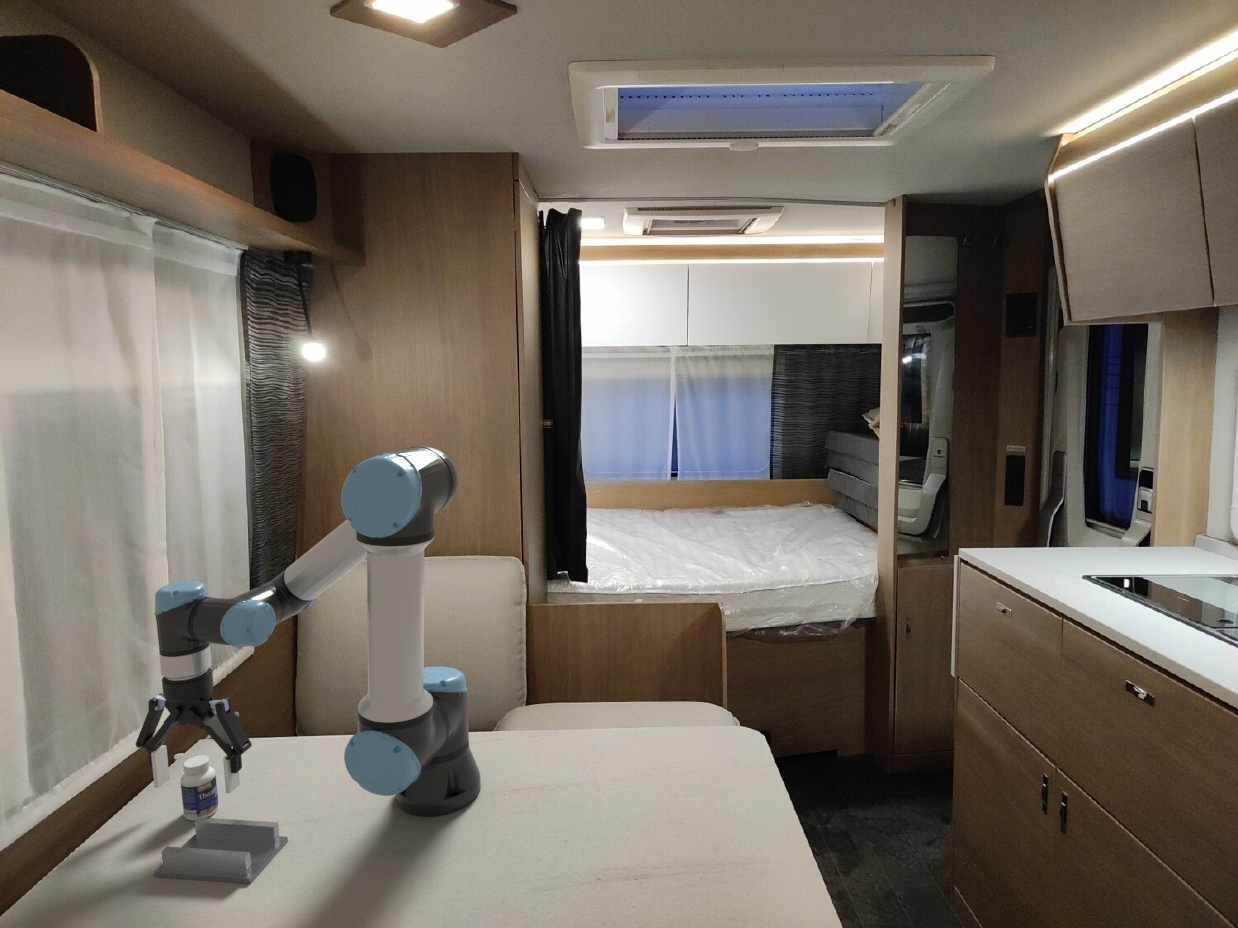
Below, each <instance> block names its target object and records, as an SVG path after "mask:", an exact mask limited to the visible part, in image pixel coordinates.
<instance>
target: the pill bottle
mask: <svg viewBox="0 0 1238 928" xmlns="http://www.w3.org/2000/svg"><path fill="white" fill-rule="evenodd" d="M183 772H184V773H183V775H182V776H181V778H180V790H181V800H182V809H183V817H184V818H185V820H187V821H196V820H197V819H198V818H199V817H202V818H210V816H212V815H214V814H215V813H216V812H217V811H218V810H219V807H220V804H219V795H218V785H217V774H216V770H215V768H214V767H212V766H211V760H210V757H209V756H208V755H196V756H192V757H190V758H188V759H187V760H185V761H184V762H183Z"/></svg>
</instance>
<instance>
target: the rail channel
mask: <svg viewBox="0 0 1238 928" xmlns="http://www.w3.org/2000/svg"><path fill="white" fill-rule="evenodd" d="M194 829H195V834H193V835H192V837H191V838H189V839H188V840H186V842H185V843H184V844H183V845H181V846H179V847H178V846H166V847H164V849H162V851H161V859H162V860H161V861H162V862H161V863H162V864H161V865H160V866H159V867H158V868H156V869H155V870H154V871H153V872H154V873H153V875H154V877H156V878H157V877H158V878H170V879H183V880H196V881H208V882H209V881H210V882H211V881H212V882H222V883H234V884H238V883H239V884H249V885H251V884H252V883H253V882H254V881H255V879H256V878H257V877H258V876H260V873H262V871H263V870H264V869H266V867H267V866H268V865H269V863H270V862H271V861H272V860H273V859H274V858H275V857H276V855H277V854H278V853H279V852H280V851H281V850H282V849H283V847H284V846H286V844H287V843H288V842H289V837H288V836H282V835H280V832H279V822H278V821H263V820H261V821H260V820H249V819H248V820H246V819H231V818H229V819H228V818H214V817H207V818H202V817H199V818H198V819H197V820H194Z"/></svg>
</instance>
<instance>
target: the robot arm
mask: <svg viewBox="0 0 1238 928" xmlns="http://www.w3.org/2000/svg"><path fill="white" fill-rule="evenodd" d="M458 487H459V476H458V471H457V468H456V466H455V464H454V463H453V461H452V459H451V458H450V457H449V456H448V455H447V454H445V452H444V451H441V450H439V449H438V448H434V447H432V446H427V445H417V446H416V445H415V446H412V447H407V448H406V449H400V450H396V451H391V452H390V451H389V452H382V453H378V454H375V455H374V456H371V457H369V458H368V459H365V460H363V461H360V463H358V464H357V465H355V466H354V467H353V469H352V470H350V472H349V473H348V475H347V477H346V478H345V479H344V482H343V485H342V488H341V494H340V504H341V509H342V512H343V516H344V517H345V519H346V520H344V521H343V522H342V523H340V524H339V525H338V526H337V527H336V528H335V529H333V530H332V531H331V532H330V533H328V534H327V535H326V536H325V537H323V538H322V539H321V540H320V541H318V542H317V543H315V545H314V546H312V547H311V548H310V549H309V550H308V551H306V552H304V554H302V555H300V557H299V558H298V559H296V560H295V561H294V562H293V563H291V564H290V565H289V566H287V567H286V569H284V570H283V571H281V573H279V574H278V575H276V577H274V578H273V579H272V580H270V581H268V582H266V583H264V584H262V585H259V586H257V587H254V588H252V589H250V590H248V591H246V592H243V593H241V594H239V595H237V596H234V597H229V598H225V597H224V598H218V597H217V598H216V597H211V596H207V595H208V592H207V590H206V586H205V584H203V583H202V582H200V581H195V580H191V581H190V580H188V581H186V580H185V581H178V582H177V581H176V582H173V583H170V584H167V585H163V586H162V587H160V588H159V589H158V590H156V592H155V595H154V610H155V611H154V614H153V615H154V616H155V622H156V631H157V640H158V641H157V642H158V650H159V651H158V652H159V653H158V654H159V664H160V665H159V666H160V675H161V676H162V679H161V686H162V692H161V693H159V694H157V695H155V696H154V697H152V698H150V699H149V700H148V711H147V714H146V716H145V718H144V721H143V723H142V726H141V728H140V731H139V735H138V736H137V738H136V741H135V746H136V748H138V749H140V748H144V749H145V751H146V752H147V757H148V765H149V767H150V768H152V775H153V787H154V788H155V789H158V788H160V787H162V786H163V785H164V784H165V783H167V782H168V781H169V780H170V772H169V771H170V770H169V759H168V749H167V748H168V747H167V744H166V745H165V744H163V743H164V742H165V740H166V739H167V737H168V736H169V734H170V733H171V732H172V731H173V729H174V728H175V727H176V726H177V724H179V725H180V726H185V725H189V726H194V727H196V726H198V728H200V729H201V730H205V732H206V733H207V734H208V736H210V737H211V739H212V740H213V741H214V742H215V743H216V744H217V746H218V747H219V748H220V749H221V750H222V751H223V753H224V754H226V755H224V757H222V761H223V772H224V785H225V794H231V793H232V792H233V791H234V790H236V789H237V788H238V787H239V786H240V785H241V783H240V771H241V770H242V767H243V761H242V755H243V754H244V753H246V751H248V750H249V749H250V748H251V747H252V746H253V745H252V741H251V740H250V738H249V736H248V735H247V733H246V731H245V729H244V728H243V726H242V724H241V722H240V720H239V718H238V716H237V715H236V713H235V711H234V709H233V705H232V700H231V698H230V697H229V696H225V697H224V698H223V699H214V697H213V689H214V676H213V669H212V668H211V667H212V654H211V644H214V645H215V644H216V645H226V646H231V647H236V648H239V647H240V648H244V647H258V646H261V645H263V644H265V643H266V642H267V641H268V639H269V637H270V636H271V635H272V634H273V633H274V630H275V627H276V625H278V624H280V623H281V622H283V621H285V620H287V619H289V618H291V617H293V616H296V615H299V614H300V613H302V612H303V611H306V610H307V609H308V608H309V607H311V605H313V604H314V602H315V600H316V598H317V597H318V596H320V595H321V594H323V593H324V592H325V591H327V590H328V589H329V588H330V587H331V586H333V585H334V584H335V583H337V582H339V580H340V579H341V578H343V577H344V576H346V575H347V574H348V573H349V572H350V571H352V570H353V569H354V568H356V567H357V566H358V565H359V564H361V563H362V562H364V561H365V560H366V591H367V592H366V594H367V598H366V599H367V600H366V602H367V605H366V606H367V607H366V608H367V610H366V611H367V615H366V616H367V694H366V695H365V696H363V698H362V699H360V701H359V702H358V704H357V706H358V707H357V731H356V733H355V734H353V735H352V737H351V738H349V741H348V743H347V745H346V746H345V749H344V753H343V754H344V755H343V756H344V757H343V758H344V765H345V769H346V770H347V773H348V774H349V775H350V778H351V779H352V780H353V781H355V782H356V783H357V784H358V786H359V787H361V789H363V790H365V791H367V792H368V793H370V794H374V795H377V796H382V797H389V796H394V795H395V799H396V804H397V806H398V807H399V808H400V809H401V810H402V811H404V812H406V813H408V814H410V815H414V816H420V817H434V816H441V815H446V814H450V813H453V812H455V811H458V810H460V809H462V808H464V807H466V806H467V805H470V804H471V803H472V802H473V801H474V800H475V799H476V798H477V796H478V795H479V794H480V791H481V787H482V784H481V780H482V779H481V772H480V769H479V767H478V764H477V763H476V762H477V761H476V760H475V757H474V755H473V753H472V750H471V748H470V738H469V737H470V736H469V735H470V733H469V732H470V731H469V715H468V714H469V713H468V712H469V711H468V692H469V691H468V688H467V683H466V681H467V680H466V676H465V674H464V673H463V672H462V671H460V670H459V669H457V668H454V667H449V666H448V667H447V666H426V667H425V666H424V665H425V663H424V661H425V660H424V658H425V657H424V656H425V655H424V653H425V651H424V649H425V648H424V647H425V643H424V642H425V639H424V638H425V631H424V630H425V628H424V627H425V617H424V616H425V549H426V548H427V546H429V545H430V544H431V543H432V542H433V541H434V540H435V518H436V517H435V515H436V514H438V513H440V512H441V511H442V510H444V509H445V508H447V507H448V506H449V505H450V504H451V503H452V501H453V500H454V498H455V496H456V494H457V492H458V491H457V490H458ZM165 709H166V710H167V711H168V713H169V714H168V716H167V717H166V718H165V720H164V721H163V724H162V725H161V726H160V728H158V725H159V723H160V721H161V718H162V716H163V713H164V710H165ZM208 717H209V719H208V720H207V718H208ZM157 728H158V730H157ZM156 730H157V731H156Z"/></svg>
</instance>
